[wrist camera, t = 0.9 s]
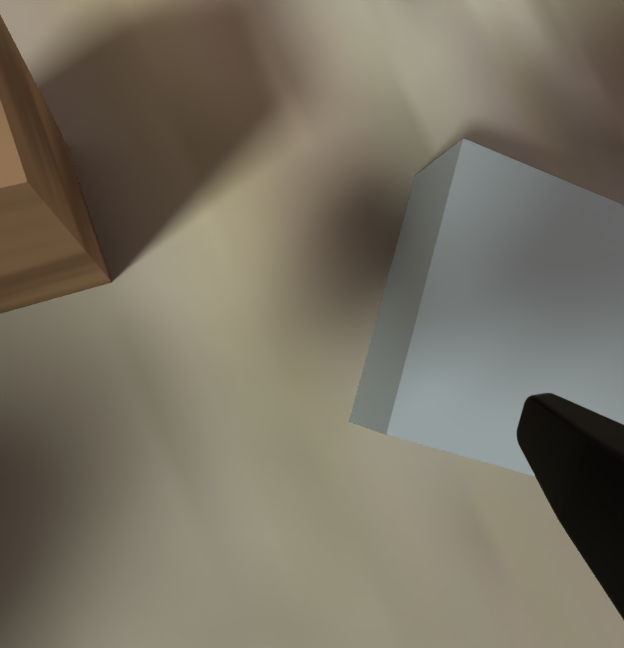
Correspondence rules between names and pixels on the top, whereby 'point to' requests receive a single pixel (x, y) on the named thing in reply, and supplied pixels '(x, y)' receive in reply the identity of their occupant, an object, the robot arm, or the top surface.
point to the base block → (495, 307)
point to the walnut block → (39, 198)
